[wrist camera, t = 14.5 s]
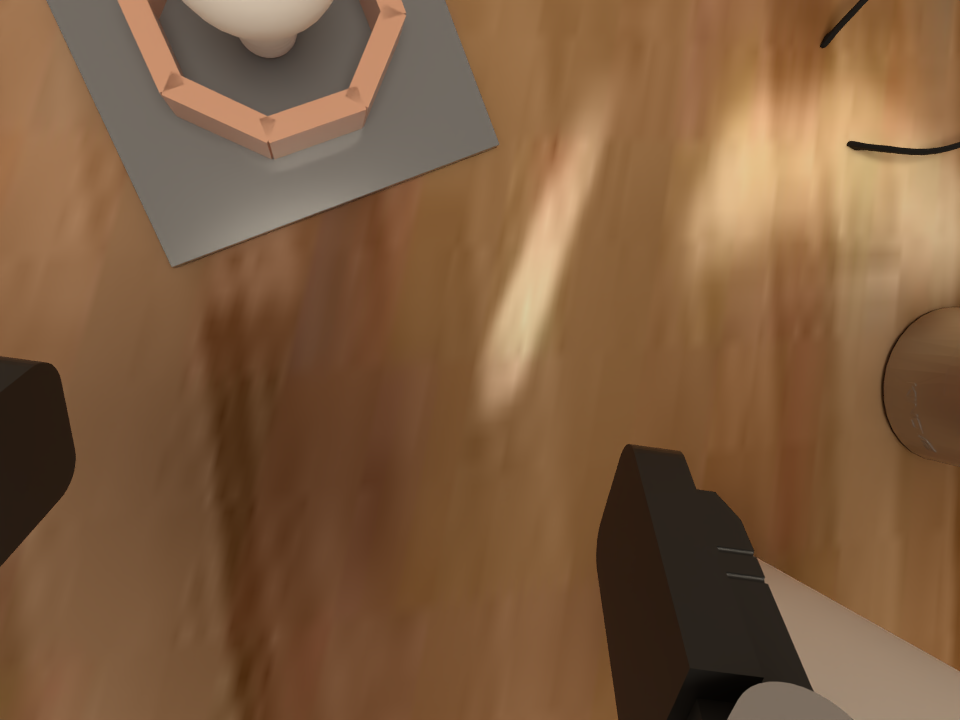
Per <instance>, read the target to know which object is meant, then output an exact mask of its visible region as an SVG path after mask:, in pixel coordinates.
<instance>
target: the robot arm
mask: <svg viewBox="0 0 960 720" xmlns="http://www.w3.org/2000/svg"><path fill="white" fill-rule="evenodd" d="M884 403H885V408H886V413H887V417H888V420H889V422H890V424H891V427H892V429H893V431H894V433H895V434H896V435H897V437H898V438H899V440H900V441H901V443H903V444H904V445H905V446H906V447H907V448H908V449H909V450H910V451H911V452H913V453H915V454H917V455H919V456H921V457H923V458H926V459H930V460H934V461H938V462H942V463H946V464H950V465H954V466H958V467H960V307H948V308H943V309H938V310H934V311H932V312H930V313H928V314H926V315H923V316H921V317H920V318H919V319H918V320H916V321H915V322H914V323H913V324H911V325H910V326H909V327H908V328H907V330H906V331H905V332H904V333H903V334H902V336H901V337H900V338H899V340H898V342H897V343H896V345H895V347H894V349H893V351H892V353H891V356H890V358H889V361H888V364H887V367H886V373H885V379H884ZM75 461H76V454H75V448H74V443H73V438H72V433H71V428H70V423H69V418H68V413H67V408H66V403H65V398H64V393H63V388H62V383H61V378H60V375H59V373H58V371H57V369H56V368H55V367H54V366H53V365H52V364H49V363H45V362H38V361H31V360H23V359H16V358H9V357H2V356H0V566H1V565H2V564H3V563H4V562H5V561H6V560H7V558H8V557H9V556H10V555H11V554H12V553H13V552H14V551H15V549H16V548H17V547H18V546H19V545H20V544H21V543H22V542H23V540H24V539H25V538H26V537H27V536H28V535H29V534H30V532H31V531H32V530H33V529H34V528H35V527H36V526H37V525H38V523H39V522H40V521H41V520H42V519H43V518H44V517H45V515H46V514H47V513H48V512H49V511H50V510H51V509H52V508H53V506H54V505H55V504H56V503H57V502H58V501H59V500H60V498H61V497H62V496H63V495H64V493H65V492H66V490H67V488H68V486H69V484H70V482H71V479H72V477H73V473H74V469H75ZM753 553H754V550H753V547H752V545H751V543H750V540H749V538H748V536H747V533H746V531H745V529H744V526H743V524H742V522H741V520H740V519H739V517H738V516H737V515H736V514H735V513H734V512H733V511H732V510H731V509H730V508H729V507H728V506H727V504H726V503H725V502H724V501H723V500H722V499H721V498H720V497H719V496H718V495H717V494H716V492H711V491H704V490H697V489H696V487H695V485H694V482H693V479H692V476H691V474H690V471H689V468H688V465H687V463H686V460H685V457H684V455H683V454H682V452H680V451H675V450H668V449H661V448H653V447H646V446H639V445H631V444H628V445H626V446H625V447H624V449H623V451H622V453H621V456H620V459H619V463H618V466H617V469H616V473H615V476H614V480H613V483H612V486H611V490H610V493H609V496H608V500H607V503H606V506H605V510H604V513H603V516H602V520H601V523H600V527H599V532H598V539H597V552H596V562H597V573H598V580H599V587H600V594H601V601H602V608H603V615H604V622H605V629H606V636H607V643H608V650H609V657H610V664H611V671H612V678H613V685H614V692H615V699H616V706H617V713H618V720H853V719H852V718H851V717H850V716H849V715H848V714H847V713H845V712H844V711H843V710H842V709H841V708H839V707H838V706H837V705H835V704H834V703H832V702H831V701H830V700H828V699H826V698H825V697H823V696H821V695H819V694H818V693H816V692H814V690H813V688H812V686H811V684H810V682H809V679H808V677H807V675H806V672H805V670H804V668H803V665H802V663H801V660H800V658H799V656H798V653H797V651H796V649H795V646H794V644H793V642H792V639H791V637H790V635H789V632H788V630H787V627H786V625H785V623H784V620H783V618H782V616H781V613H780V611H779V609H778V606H777V604H776V602H775V599H774V597H773V595H772V592H771V590H770V587H769V585H768V584H766V583H765V582H764V579H765V576H764V573H763V571H762V569H761V566H760V564H759V562H758V559H757V557H754V556H753Z"/></svg>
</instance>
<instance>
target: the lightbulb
mask: <svg viewBox="0 0 960 720" xmlns="http://www.w3.org/2000/svg"><path fill="white" fill-rule="evenodd" d="M182 1H183V2H184V3H185V4H186V5H187V6H188V7H189V8H191V9H192V10H193V11H194V12H195V13H196V14H198V15H199V16H200V17H201V18H202V19H203V20H204V21H206V22H207V23H209V24H211V25H212V26H214V27H216V28H217V29H219V30H221V31H223V32H226V33H228V34H231V35H233V36H236V37H239V38H240V40H241V42H242V43H243V44H244V46H245V47H246V48H247V49H248V50H249V51H251V52H252V53H254V54H255V55H258V56H260V57H264V58H276V57H280V56H282V55H284V54H286V53H287V52H288V51H289V50H290V49H291V48H292V47H293V45H294V43H295V41H296V37H297V34H298V33H300V32H302V31H304V30H306V29H307V28H308V27H310V26H311V25H313V24H314V23H315V22H317V21H318V20H319V18H320V17H321V16H322V15H323V14H324V13H325V12H326V10H327V9H328V8H329V6H330V5H331V3H332V2H333V0H182Z"/></svg>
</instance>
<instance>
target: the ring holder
mask: <svg viewBox="0 0 960 720" xmlns="http://www.w3.org/2000/svg"><path fill="white" fill-rule="evenodd" d="M47 3H48V5H49V7H50V9H51V11H52V13H53V15H54V17H55V20H56V22H57V24H58V26H59V28H60V30H61V32H62V35H63V37H64V39H65V41H66V43H67V45H68V47H69V49H70V52H71V54H72V56H73V58H74V60H75V62H76V64H77V66H78V69H79V71H80V73H81V75H82V77H83V79H84V81H85V83H86V86H87V88H88V90H89V92H90V94H91V96H92V98H93V100H94V103H95V105H96V107H97V109H98V111H99V113H100V115H101V118H102V120H103V122H104V124H105V126H106V128H107V130H108V132H109V135H110V137H111V139H112V141H113V143H114V145H115V147H116V149H117V152H118V154H119V156H120V158H121V160H122V162H123V164H124V166H125V169H126V171H127V173H128V175H129V177H130V179H131V181H132V184H133V186H134V188H135V190H136V192H137V194H138V196H139V198H140V201H141V203H142V205H143V207H144V209H145V211H146V213H147V215H148V218H149V220H150V222H151V224H152V226H153V228H154V230H155V232H156V235H157V237H158V239H159V241H160V243H161V245H162V247H163V250H164V252H165V254H166V256H167V258H168V260H169V262H170V264H171V267H173V268H176V267H179V266H181V265H184V264H187V263H189V262H192V261H195V260H197V259H200V258H203V257H205V256H208V255H211V254H213V253H216V252H219V251H221V250H224V249H227V248H229V247H232V246H235V245H237V244H240V243H243V242H245V241H248V240H251V239H253V238H256V237H259V236H261V235H264V234H267V233H269V232H272V231H275V230H277V229H280V228H283V227H285V226H288V225H291V224H293V223H296V222H299V221H301V220H304V219H307V218H309V217H312V216H315V215H317V214H320V213H323V212H325V211H328V210H331V209H333V208H336V207H339V206H341V205H344V204H347V203H349V202H352V201H355V200H357V199H360V198H363V197H365V196H368V195H371V194H373V193H376V192H379V191H381V190H384V189H387V188H389V187H392V186H395V185H397V184H400V183H403V182H405V181H408V180H411V179H413V178H416V177H419V176H421V175H424V174H427V173H429V172H432V171H435V170H437V169H440V168H443V167H445V166H448V165H451V164H453V163H456V162H459V161H461V160H464V159H467V158H469V157H472V156H475V155H477V154H480V153H483V152H485V151H488V150H491V149H493V148H496V147H497V146H498V145H499V142H498V139H497V137H496V134H495V131H494V129H493V126H492V124H491V121H490V118H489V116H488V113H487V110H486V108H485V105H484V102H483V100H482V97H481V94H480V92H479V89H478V87H477V84H476V81H475V79H474V76H473V73H472V71H471V68H470V65H469V63H468V60H467V57H466V55H465V52H464V50H463V47H462V44H461V42H460V39H459V36H458V34H457V31H456V28H455V26H454V23H453V20H452V18H451V15H450V13H449V10H448V7H447V5H446V2H445V0H333V2H332V3H331V5H330V6H329V8H328V9H327V10H326V12H325V13H324V14H323V15H322V16H321V17H320V18H319V20H318V21H317V22H315V23H314V24H313V25H311V26H310V27H308V28H307V29H306V30H304V31H302V32H300V33H298V34H297V37H296V41H295V43H294V45H293V47H292V48H291V49H290V50H289V51H288V52H287V53H286V54H284V55H282V56H280V57H276V58H264V57H260V56H258V55H255V54H254V53H252V52H251V51H249V50H248V49H247V48H246V47H245V46H244V44H243V43H242V42H241V40H240V38H239V37H236V36H233V35H231V34H228V33H226V32H223V31H221V30H219V29H217V28H216V27H214V26H212V25H211V24H209V23H207V22H206V21H204V20H203V19H202V18H201V17H200V16H199V15H198V14H196V13H195V12H194V11H193V10H192V9H191V8H189V7H188V6H187V5H186V4H185V3H184V2H183V1H182V0H47Z"/></svg>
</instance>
